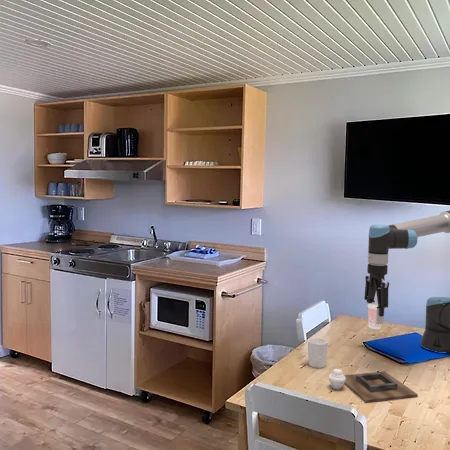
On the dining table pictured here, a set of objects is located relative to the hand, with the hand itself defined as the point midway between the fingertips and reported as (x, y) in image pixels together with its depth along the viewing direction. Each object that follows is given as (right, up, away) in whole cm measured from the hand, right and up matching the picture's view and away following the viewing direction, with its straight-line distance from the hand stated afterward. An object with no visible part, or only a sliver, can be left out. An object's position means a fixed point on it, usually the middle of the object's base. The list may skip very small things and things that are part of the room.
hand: (375, 321), depth 185 cm
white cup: (-22, -19, +4) cm, 29 cm away
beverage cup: (0, -3, 0) cm, 3 cm away
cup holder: (-5, -21, -16) cm, 27 cm away
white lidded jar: (-19, -21, -17) cm, 33 cm away
